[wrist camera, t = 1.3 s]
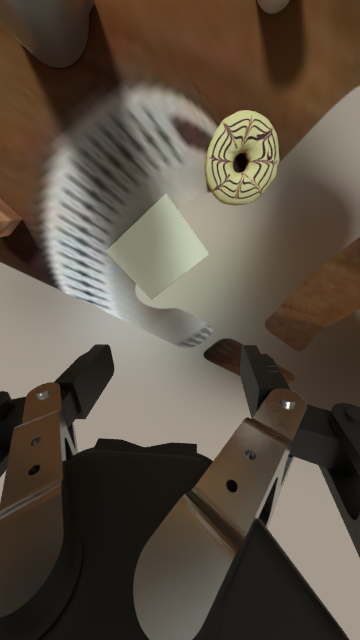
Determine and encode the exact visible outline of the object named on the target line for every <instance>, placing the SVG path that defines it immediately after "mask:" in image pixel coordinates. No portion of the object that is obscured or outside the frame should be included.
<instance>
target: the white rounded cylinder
mask: <svg viewBox="0 0 360 640" xmlns="http://www.w3.org/2000/svg"><path fill="white" fill-rule="evenodd" d="M289 1H290V0H257V3H258V5H259V6H260V8H261V9H262V10H263V11H264V12H266V13H269V14H275V13H278V12H280V11H281V10H282V9H284V8H285V7H286V5H287V4H288V3H289Z"/></svg>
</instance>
